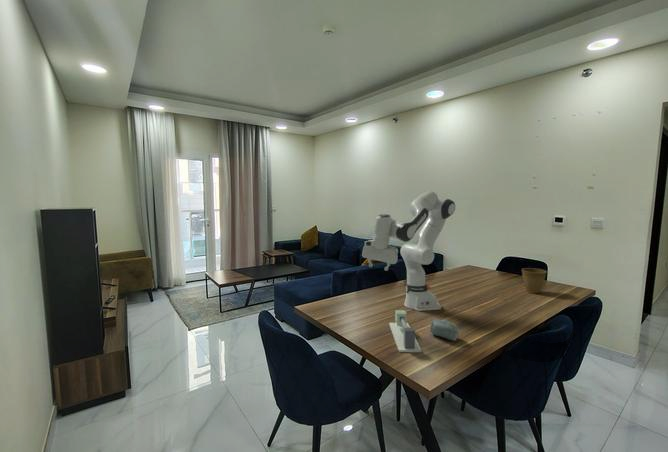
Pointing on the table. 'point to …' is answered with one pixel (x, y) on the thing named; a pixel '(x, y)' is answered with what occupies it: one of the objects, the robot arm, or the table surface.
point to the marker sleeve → (400, 314)
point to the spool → (444, 329)
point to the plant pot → (533, 279)
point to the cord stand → (404, 337)
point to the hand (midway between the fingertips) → (378, 268)
